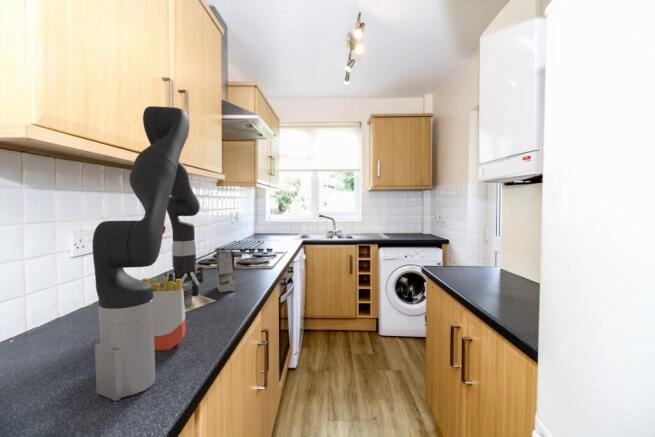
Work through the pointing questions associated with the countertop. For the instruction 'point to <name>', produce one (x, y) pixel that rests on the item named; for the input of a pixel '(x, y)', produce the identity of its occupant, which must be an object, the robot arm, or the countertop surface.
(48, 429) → the countertop surface
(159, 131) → the robot arm
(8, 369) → the countertop surface
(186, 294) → the grey irregular chunky piece
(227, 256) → the coffee box
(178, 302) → the french fries container
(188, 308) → the beige and grey tray
